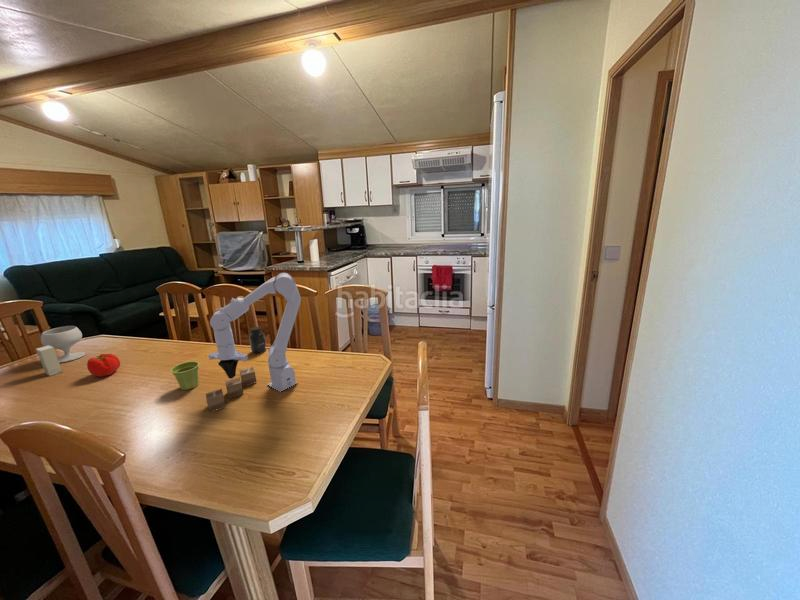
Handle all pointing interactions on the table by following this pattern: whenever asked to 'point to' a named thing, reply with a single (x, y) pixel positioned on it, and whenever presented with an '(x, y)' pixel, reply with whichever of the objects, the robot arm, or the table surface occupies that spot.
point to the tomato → (103, 365)
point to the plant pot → (186, 374)
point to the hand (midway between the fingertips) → (232, 377)
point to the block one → (215, 400)
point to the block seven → (247, 376)
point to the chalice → (63, 341)
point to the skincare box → (49, 360)
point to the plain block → (234, 387)
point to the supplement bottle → (257, 340)
